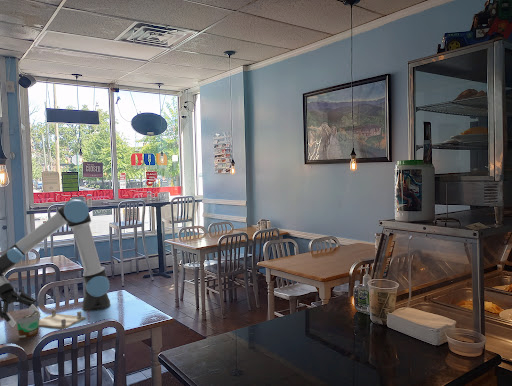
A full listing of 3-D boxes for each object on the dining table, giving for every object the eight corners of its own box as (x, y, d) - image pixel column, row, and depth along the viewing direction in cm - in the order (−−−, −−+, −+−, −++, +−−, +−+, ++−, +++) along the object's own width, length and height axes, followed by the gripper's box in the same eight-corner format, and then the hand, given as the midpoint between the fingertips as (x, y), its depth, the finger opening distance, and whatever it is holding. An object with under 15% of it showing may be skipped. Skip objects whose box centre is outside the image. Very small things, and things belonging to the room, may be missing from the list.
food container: (28, 341, 187) (27, 319, 187) (16, 340, 188) (15, 319, 188) (47, 330, 199) (46, 310, 199) (36, 330, 200) (35, 310, 200)
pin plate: (53, 315, 221) (53, 308, 221) (85, 318, 215) (84, 311, 214) (31, 325, 207) (30, 317, 206) (64, 329, 200) (63, 321, 200)
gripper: (20, 285, 210) (44, 316, 206) (-27, 300, 186) (-1, 335, 182) (27, 276, 208) (51, 307, 204) (-19, 289, 184) (7, 325, 180)
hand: (27, 320), depth 193 cm, fingers open, 13 cm apart
